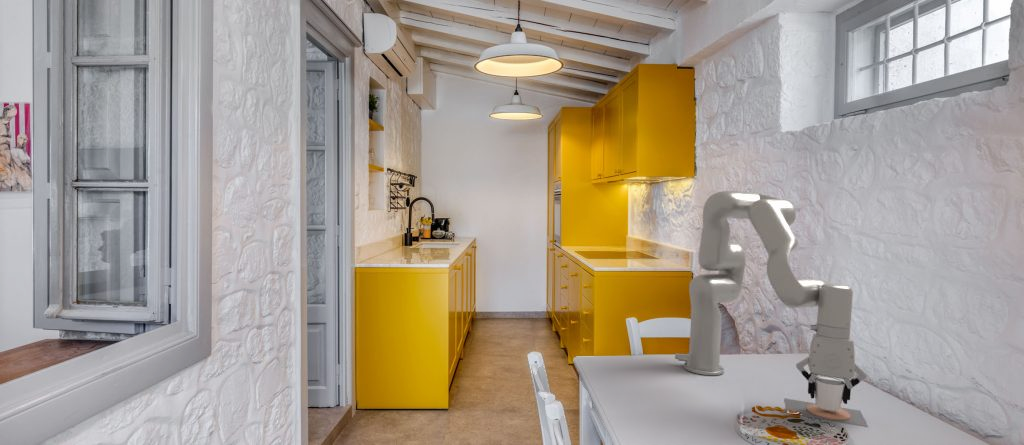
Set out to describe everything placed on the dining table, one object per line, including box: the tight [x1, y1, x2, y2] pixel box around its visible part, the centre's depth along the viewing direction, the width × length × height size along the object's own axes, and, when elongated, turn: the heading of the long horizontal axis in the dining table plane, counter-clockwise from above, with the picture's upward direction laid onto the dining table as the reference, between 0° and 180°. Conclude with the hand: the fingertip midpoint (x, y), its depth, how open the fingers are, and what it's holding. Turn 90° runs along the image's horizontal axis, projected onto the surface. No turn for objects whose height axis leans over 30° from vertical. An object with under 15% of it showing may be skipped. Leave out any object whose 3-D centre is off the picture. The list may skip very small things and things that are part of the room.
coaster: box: [807, 404, 851, 420], centre depth 143 cm, size 10×10×1 cm
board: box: [784, 398, 869, 428], centre depth 144 cm, size 18×12×2 cm, turn 66°
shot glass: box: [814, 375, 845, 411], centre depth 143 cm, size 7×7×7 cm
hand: (828, 398), depth 143 cm, fingers closed on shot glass, 6 cm apart
